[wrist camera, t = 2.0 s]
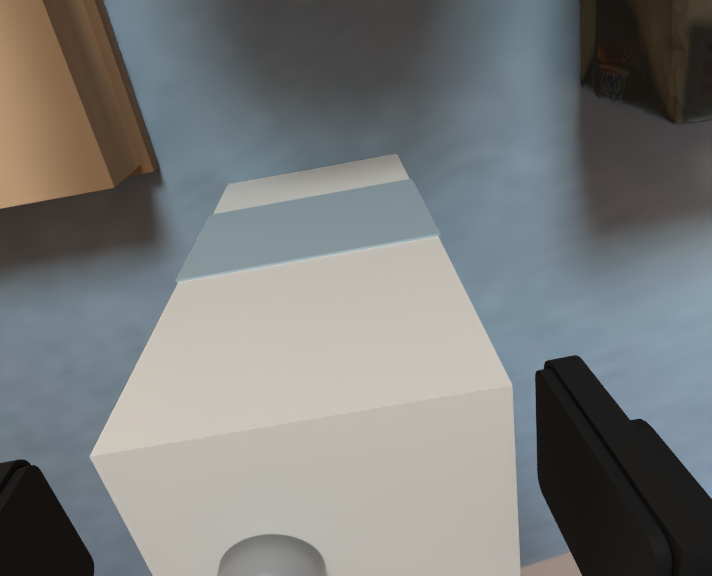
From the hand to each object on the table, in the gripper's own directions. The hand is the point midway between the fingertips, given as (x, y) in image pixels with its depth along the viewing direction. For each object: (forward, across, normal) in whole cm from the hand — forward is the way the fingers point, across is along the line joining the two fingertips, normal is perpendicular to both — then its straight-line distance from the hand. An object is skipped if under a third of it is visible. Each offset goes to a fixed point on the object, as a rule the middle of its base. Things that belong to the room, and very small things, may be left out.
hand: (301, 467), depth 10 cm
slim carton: (+10, -1, 0) cm, 10 cm away
